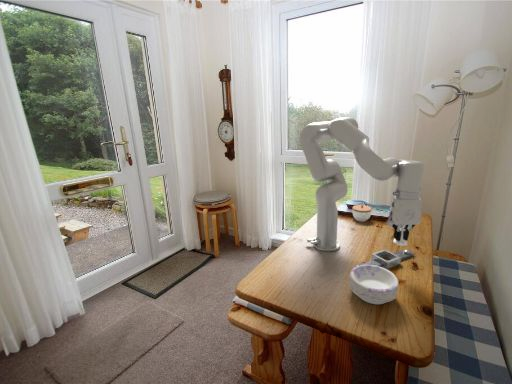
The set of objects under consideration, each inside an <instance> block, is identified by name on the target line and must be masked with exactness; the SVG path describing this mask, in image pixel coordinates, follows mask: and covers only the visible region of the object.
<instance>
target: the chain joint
mask: <svg viewBox="0 0 512 384" xmlns="http://www.w3.org/2000/svg"><path fill="white" fill-rule="evenodd" d="M415 254H416V253H415V252H412V251H411V250H410V249H408V248H405V249H401V250H399V251H396V252H391V251H389V250H387V249H383V250H379V251H376V252H374V253H371V255H370V256H371V259H370V260H369V261H366V262H365V261H364V262H363V263H359V264H357V265H355V266H354V268H355V267H356V266H360V265H375V266H379V267H382V268H385V269H387V270H389V269H390V268H393V267H396V266H399V265H401V262H402V261H404V260H407V259H408V258H412V257H414V256H415ZM384 258H386V259H388V260H386V259H384Z"/></svg>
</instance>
